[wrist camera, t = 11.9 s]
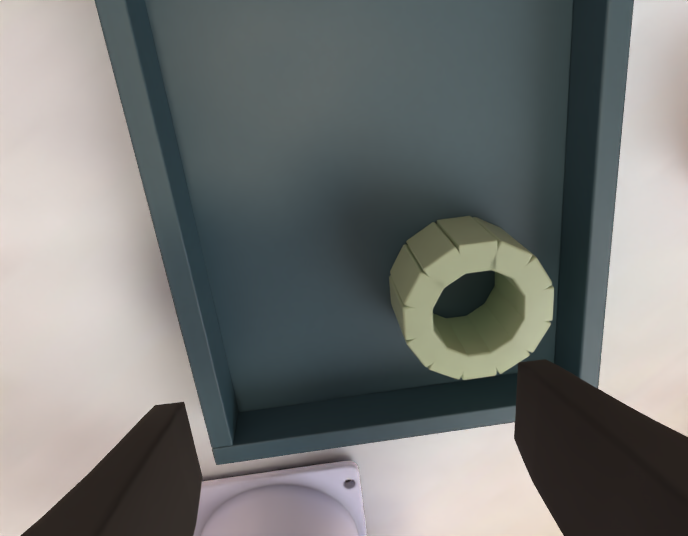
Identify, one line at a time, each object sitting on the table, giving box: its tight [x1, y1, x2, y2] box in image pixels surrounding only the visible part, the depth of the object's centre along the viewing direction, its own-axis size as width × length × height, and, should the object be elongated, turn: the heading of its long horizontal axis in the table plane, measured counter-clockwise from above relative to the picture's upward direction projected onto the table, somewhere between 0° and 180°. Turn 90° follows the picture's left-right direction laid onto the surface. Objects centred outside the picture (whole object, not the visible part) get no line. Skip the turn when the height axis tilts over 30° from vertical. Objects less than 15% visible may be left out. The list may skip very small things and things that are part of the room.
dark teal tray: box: [95, 0, 634, 465], centre depth 17 cm, size 19×15×2 cm
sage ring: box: [389, 216, 554, 380], centre depth 18 cm, size 5×5×3 cm
